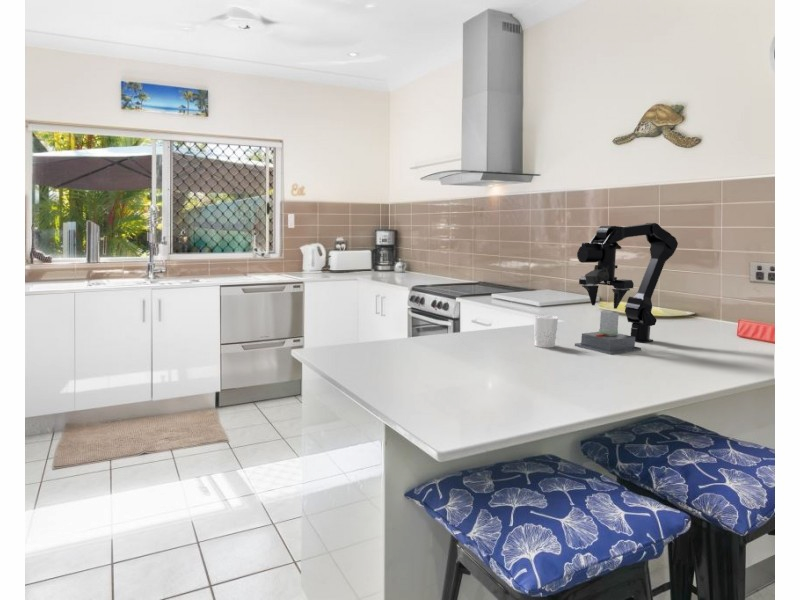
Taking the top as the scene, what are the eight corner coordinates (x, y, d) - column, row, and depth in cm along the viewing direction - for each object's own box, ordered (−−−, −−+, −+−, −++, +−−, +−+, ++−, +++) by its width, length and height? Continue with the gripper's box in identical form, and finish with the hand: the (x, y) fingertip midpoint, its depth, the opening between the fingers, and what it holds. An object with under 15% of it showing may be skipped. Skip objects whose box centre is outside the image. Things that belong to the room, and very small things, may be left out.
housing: (604, 342, 201) (605, 328, 200) (641, 350, 188) (642, 335, 187) (574, 345, 193) (575, 331, 193) (610, 354, 180) (611, 339, 180)
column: (607, 333, 193) (608, 310, 192) (617, 335, 189) (619, 312, 188) (598, 334, 191) (600, 311, 190) (609, 336, 187) (610, 312, 186)
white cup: (557, 348, 188) (558, 319, 186) (532, 347, 189) (534, 318, 188) (555, 344, 195) (557, 315, 194) (532, 343, 197) (533, 314, 196)
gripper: (569, 261, 199) (567, 305, 201) (614, 264, 183) (611, 312, 185) (590, 260, 205) (588, 303, 207) (635, 263, 189) (633, 309, 191)
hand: (604, 306), depth 198 cm, fingers open, 9 cm apart
